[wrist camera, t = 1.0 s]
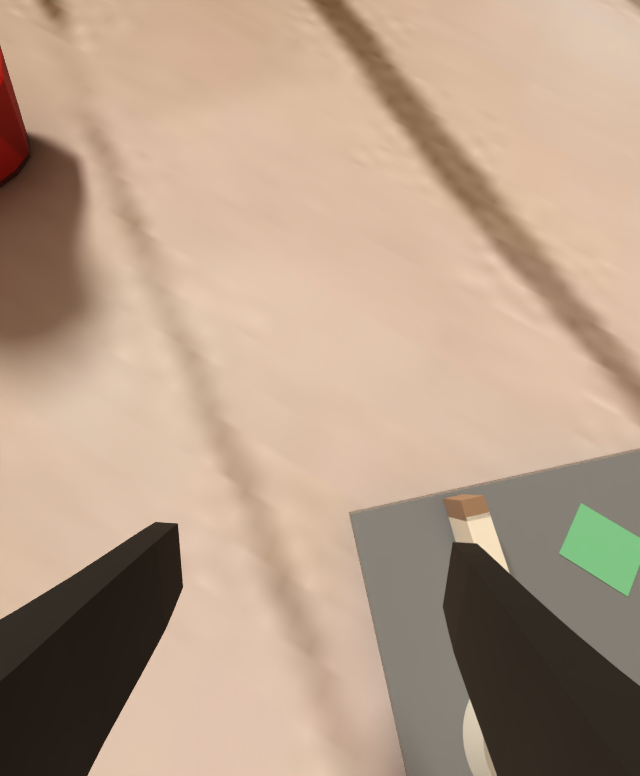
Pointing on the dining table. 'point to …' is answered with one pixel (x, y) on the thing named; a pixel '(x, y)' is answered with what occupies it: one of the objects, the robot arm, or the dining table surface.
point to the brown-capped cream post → (475, 539)
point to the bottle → (10, 130)
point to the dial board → (525, 563)
